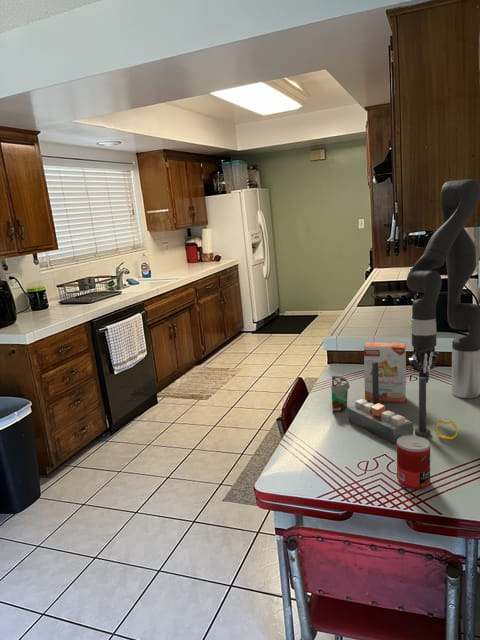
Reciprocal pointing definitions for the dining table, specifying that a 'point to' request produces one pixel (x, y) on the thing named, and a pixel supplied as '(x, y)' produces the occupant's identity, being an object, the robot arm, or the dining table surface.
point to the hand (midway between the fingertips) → (423, 382)
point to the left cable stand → (375, 382)
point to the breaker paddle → (378, 409)
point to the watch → (446, 421)
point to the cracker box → (386, 370)
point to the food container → (339, 393)
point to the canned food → (413, 462)
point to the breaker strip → (379, 422)
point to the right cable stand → (422, 410)
